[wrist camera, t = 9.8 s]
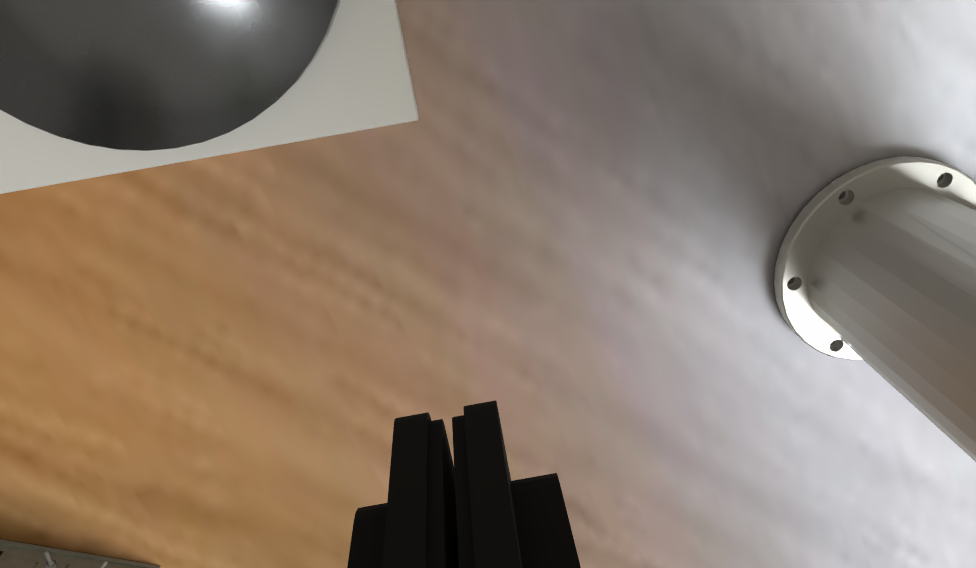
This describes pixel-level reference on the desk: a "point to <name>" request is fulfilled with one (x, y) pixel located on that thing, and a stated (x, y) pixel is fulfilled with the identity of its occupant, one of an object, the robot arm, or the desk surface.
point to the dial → (153, 65)
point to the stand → (294, 117)
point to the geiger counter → (57, 558)
